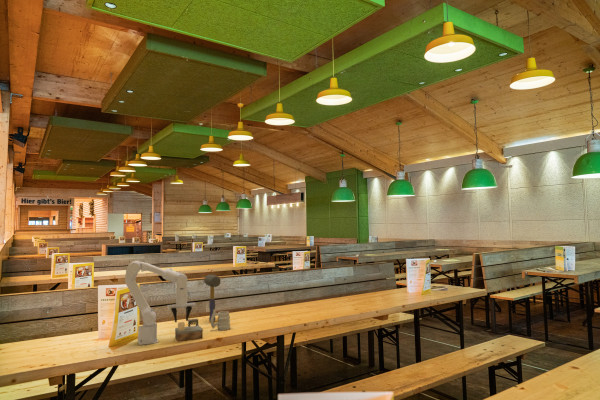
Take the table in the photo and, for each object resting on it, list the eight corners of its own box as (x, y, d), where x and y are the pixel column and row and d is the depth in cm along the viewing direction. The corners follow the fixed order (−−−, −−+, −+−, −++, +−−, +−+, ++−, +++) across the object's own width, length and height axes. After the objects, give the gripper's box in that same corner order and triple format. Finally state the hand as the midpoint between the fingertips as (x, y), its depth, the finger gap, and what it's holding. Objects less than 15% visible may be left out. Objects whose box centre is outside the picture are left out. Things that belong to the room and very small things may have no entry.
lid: (177, 334, 204) (177, 325, 204) (175, 330, 213) (175, 321, 213) (202, 331, 209) (202, 322, 210) (198, 327, 218) (199, 319, 219)
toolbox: (177, 341, 203) (177, 327, 204) (173, 334, 218) (173, 321, 218) (202, 338, 209) (202, 324, 210) (197, 331, 223) (197, 318, 224)
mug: (231, 329, 227) (231, 309, 228) (212, 332, 222) (212, 311, 223) (228, 326, 234) (228, 306, 235) (209, 329, 229) (209, 308, 230)
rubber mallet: (203, 320, 251) (203, 274, 254) (214, 319, 255) (214, 273, 258) (210, 324, 241) (210, 276, 243) (221, 322, 245) (221, 275, 248)
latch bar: (191, 324, 219) (191, 322, 219) (188, 321, 228) (188, 319, 228) (196, 324, 220) (196, 322, 220) (193, 320, 229) (193, 318, 229)
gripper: (168, 298, 204) (168, 324, 203) (196, 295, 210) (196, 321, 209) (167, 296, 211) (166, 321, 209) (194, 294, 217) (193, 318, 216)
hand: (181, 321), depth 210 cm, fingers open, 5 cm apart
